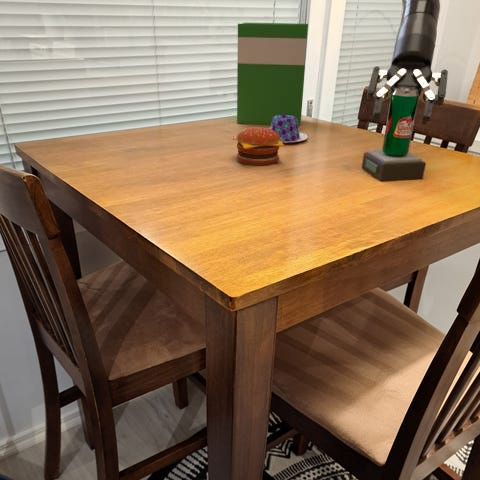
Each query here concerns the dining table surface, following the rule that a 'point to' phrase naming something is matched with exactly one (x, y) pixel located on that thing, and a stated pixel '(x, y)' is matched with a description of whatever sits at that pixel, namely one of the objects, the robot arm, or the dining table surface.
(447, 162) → the dining table surface
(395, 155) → the soda can
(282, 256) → the dining table surface
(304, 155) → the dining table surface
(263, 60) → the hardback book
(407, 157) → the scale
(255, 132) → the hamburger
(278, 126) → the pudding
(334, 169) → the dining table surface
